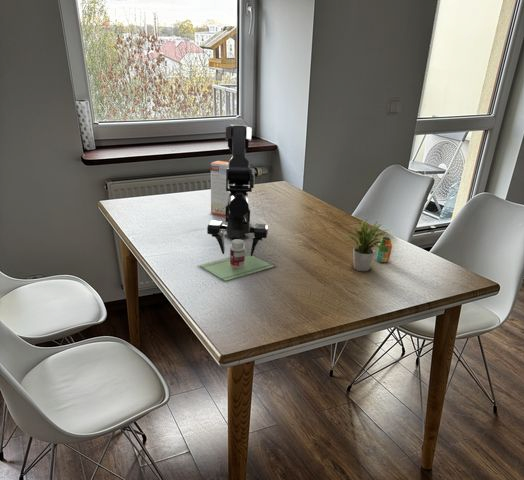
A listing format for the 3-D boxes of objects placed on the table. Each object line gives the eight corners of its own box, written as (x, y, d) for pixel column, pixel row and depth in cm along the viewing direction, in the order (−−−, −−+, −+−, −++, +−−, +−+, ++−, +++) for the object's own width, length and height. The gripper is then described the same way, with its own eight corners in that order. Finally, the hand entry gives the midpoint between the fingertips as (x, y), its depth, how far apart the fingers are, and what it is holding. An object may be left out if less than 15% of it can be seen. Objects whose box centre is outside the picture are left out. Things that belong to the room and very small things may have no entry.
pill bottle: (229, 262, 171) (230, 238, 167) (244, 263, 172) (244, 238, 167) (230, 268, 167) (230, 243, 163) (244, 268, 168) (245, 244, 163)
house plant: (373, 282, 164) (381, 232, 155) (333, 271, 170) (339, 222, 161) (388, 268, 174) (397, 220, 166) (351, 258, 180) (357, 212, 172)
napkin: (199, 266, 169) (199, 265, 168) (248, 254, 180) (248, 253, 179) (225, 281, 160) (225, 280, 159) (274, 267, 171) (274, 266, 170)
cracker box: (246, 217, 215) (247, 165, 204) (237, 220, 211) (238, 167, 200) (219, 210, 221) (218, 159, 210) (210, 213, 217) (209, 162, 206)
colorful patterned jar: (390, 259, 180) (394, 237, 176) (388, 264, 177) (392, 241, 172) (376, 257, 182) (380, 235, 177) (374, 261, 178) (378, 239, 174)
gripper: (203, 212, 153) (204, 262, 161) (266, 217, 152) (263, 266, 160) (210, 202, 162) (210, 249, 171) (269, 206, 161) (266, 253, 169)
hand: (237, 254), depth 167 cm, fingers open, 9 cm apart
